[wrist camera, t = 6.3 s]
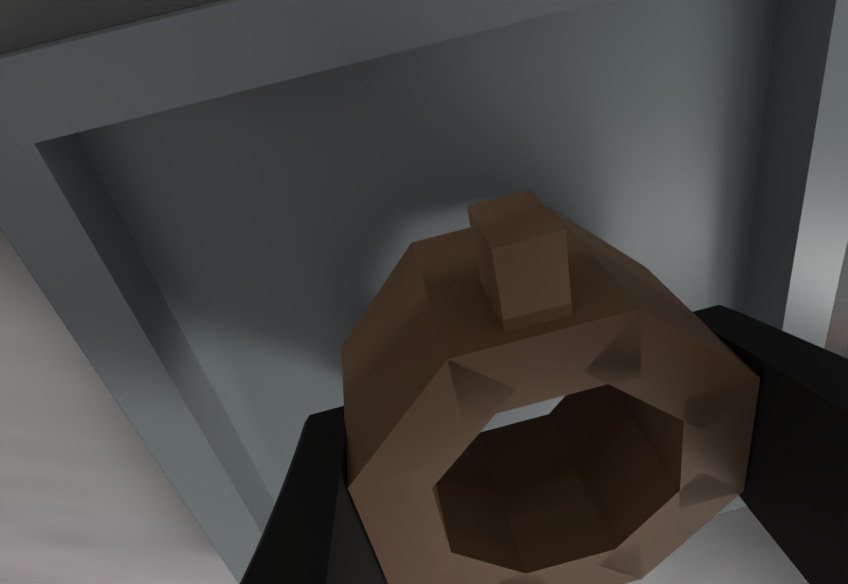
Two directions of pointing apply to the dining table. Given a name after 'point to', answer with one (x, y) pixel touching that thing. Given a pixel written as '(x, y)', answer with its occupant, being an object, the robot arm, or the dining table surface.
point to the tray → (397, 187)
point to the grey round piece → (839, 315)
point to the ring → (528, 384)
